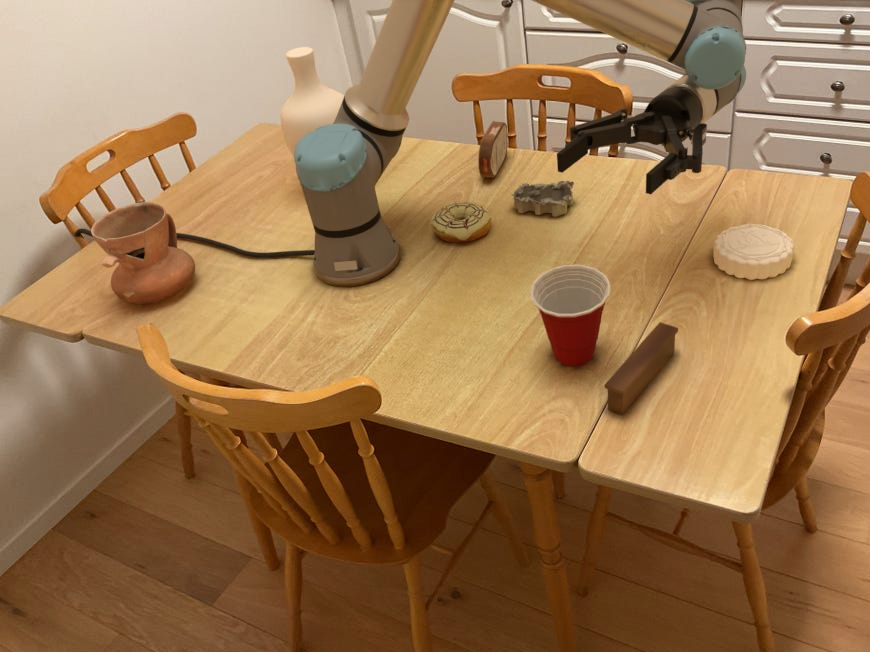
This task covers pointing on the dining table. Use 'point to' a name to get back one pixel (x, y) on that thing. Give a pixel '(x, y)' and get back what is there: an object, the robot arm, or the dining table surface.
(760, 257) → the mooncake
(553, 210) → the egg carton
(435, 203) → the dining table surface
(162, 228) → the ceramic jug
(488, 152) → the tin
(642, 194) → the dining table surface
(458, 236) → the decorated donut
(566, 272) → the plastic cup
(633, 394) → the walnut rail
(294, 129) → the vase
